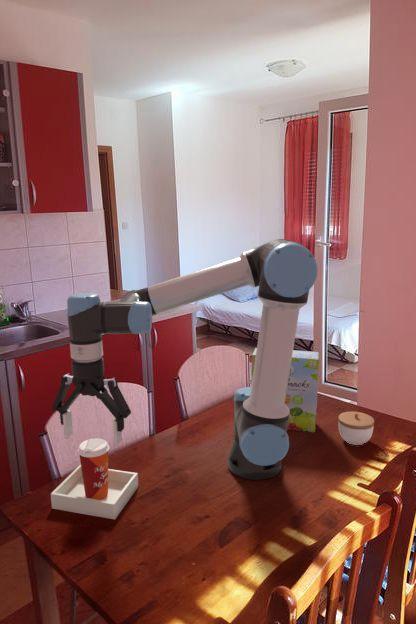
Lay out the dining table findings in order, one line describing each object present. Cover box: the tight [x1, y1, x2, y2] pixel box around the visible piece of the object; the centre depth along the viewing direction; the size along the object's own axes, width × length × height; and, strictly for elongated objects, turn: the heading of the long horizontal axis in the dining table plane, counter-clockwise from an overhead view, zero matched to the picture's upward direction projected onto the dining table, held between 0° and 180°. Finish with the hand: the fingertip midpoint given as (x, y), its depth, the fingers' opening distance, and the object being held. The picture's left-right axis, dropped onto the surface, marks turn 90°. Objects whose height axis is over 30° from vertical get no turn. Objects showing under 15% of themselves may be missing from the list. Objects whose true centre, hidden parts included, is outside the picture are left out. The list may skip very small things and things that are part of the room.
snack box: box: [250, 347, 320, 433], centre depth 159 cm, size 22×9×26 cm, turn 77°
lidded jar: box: [337, 411, 375, 446], centre depth 149 cm, size 11×11×9 cm
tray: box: [50, 464, 139, 520], centre depth 122 cm, size 17×14×4 cm
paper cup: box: [77, 437, 110, 500], centre depth 121 cm, size 8×8×14 cm
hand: (93, 439), depth 119 cm, fingers open, 13 cm apart
